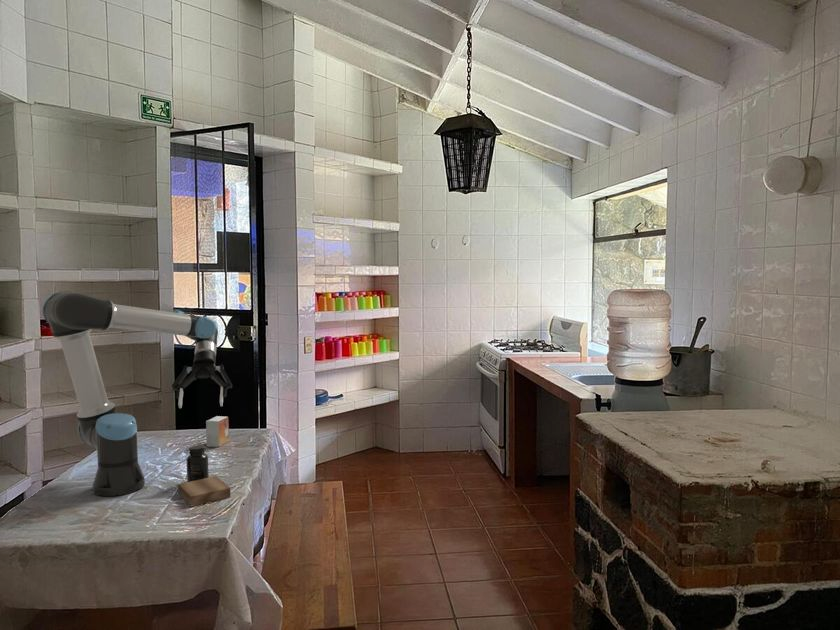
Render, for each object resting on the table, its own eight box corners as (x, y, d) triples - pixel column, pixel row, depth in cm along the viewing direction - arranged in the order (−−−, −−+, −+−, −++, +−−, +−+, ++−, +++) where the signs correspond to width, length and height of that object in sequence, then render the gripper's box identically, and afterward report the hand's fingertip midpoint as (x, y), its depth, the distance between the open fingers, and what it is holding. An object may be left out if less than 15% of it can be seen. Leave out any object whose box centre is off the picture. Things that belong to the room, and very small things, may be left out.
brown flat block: (191, 506, 183) (190, 496, 182) (178, 493, 193) (178, 484, 193) (230, 496, 190) (230, 487, 190) (216, 484, 200) (215, 476, 200)
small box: (219, 447, 241) (218, 421, 240) (206, 446, 242) (205, 420, 241) (229, 441, 248) (228, 416, 247) (217, 440, 250) (216, 415, 249)
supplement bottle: (213, 480, 204) (212, 445, 203) (198, 487, 198) (197, 451, 197) (198, 477, 207) (196, 443, 206) (182, 484, 201) (181, 448, 200)
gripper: (241, 360, 230) (238, 409, 216) (170, 363, 224) (164, 412, 211) (239, 348, 224) (237, 397, 211) (167, 350, 219) (160, 401, 205)
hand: (200, 405), depth 211 cm, fingers open, 13 cm apart
